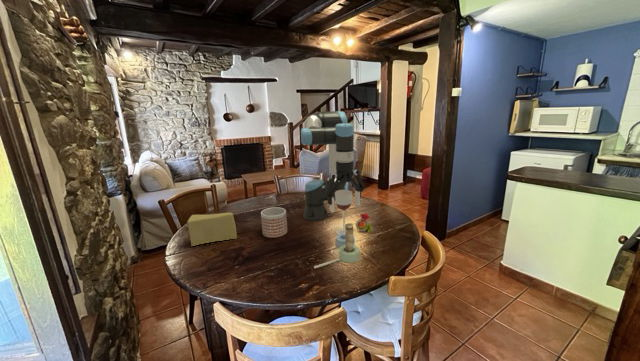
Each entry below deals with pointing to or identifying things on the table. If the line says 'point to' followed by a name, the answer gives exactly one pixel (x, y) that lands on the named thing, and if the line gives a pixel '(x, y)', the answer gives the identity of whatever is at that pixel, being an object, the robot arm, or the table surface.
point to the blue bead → (342, 240)
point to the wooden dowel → (348, 237)
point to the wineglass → (343, 204)
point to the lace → (326, 263)
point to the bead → (349, 254)
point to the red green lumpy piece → (361, 224)
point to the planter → (274, 222)
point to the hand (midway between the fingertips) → (345, 207)
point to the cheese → (211, 228)
